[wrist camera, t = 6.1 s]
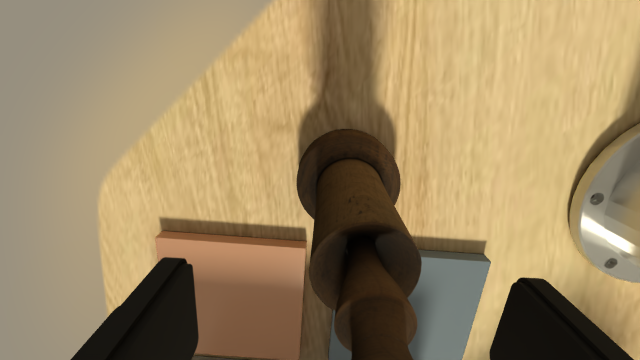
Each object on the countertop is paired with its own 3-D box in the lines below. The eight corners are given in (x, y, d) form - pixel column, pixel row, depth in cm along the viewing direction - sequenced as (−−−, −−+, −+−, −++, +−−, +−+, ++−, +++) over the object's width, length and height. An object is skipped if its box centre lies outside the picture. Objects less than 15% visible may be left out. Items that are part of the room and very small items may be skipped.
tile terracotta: (306, 241, 23) (305, 248, 22) (300, 350, 26) (298, 361, 25) (162, 230, 23) (155, 237, 22) (175, 341, 26) (169, 351, 25)
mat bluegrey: (484, 254, 23) (490, 262, 22) (453, 362, 26) (457, 373, 25) (339, 243, 23) (339, 251, 22) (328, 352, 26) (328, 363, 25)
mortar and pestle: (403, 136, 20) (845, 482, 3) (383, 222, 22) (570, 715, 5) (305, 122, 20) (162, 399, 3) (294, 210, 22) (175, 674, 5)
